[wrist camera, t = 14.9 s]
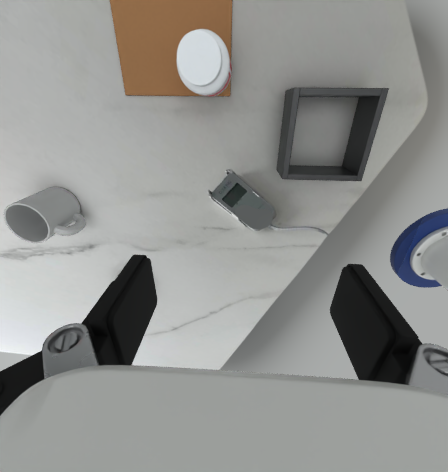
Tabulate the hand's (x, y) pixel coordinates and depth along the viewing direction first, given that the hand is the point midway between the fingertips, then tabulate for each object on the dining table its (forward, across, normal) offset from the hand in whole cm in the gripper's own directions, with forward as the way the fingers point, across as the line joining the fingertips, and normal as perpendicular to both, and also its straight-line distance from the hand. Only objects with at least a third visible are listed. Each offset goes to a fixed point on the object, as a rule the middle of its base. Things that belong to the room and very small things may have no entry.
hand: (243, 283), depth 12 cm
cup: (+32, +33, +10) cm, 47 cm away
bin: (+32, -12, -4) cm, 35 cm away
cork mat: (+32, +10, -15) cm, 37 cm away
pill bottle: (+32, +5, -12) cm, 34 cm away
